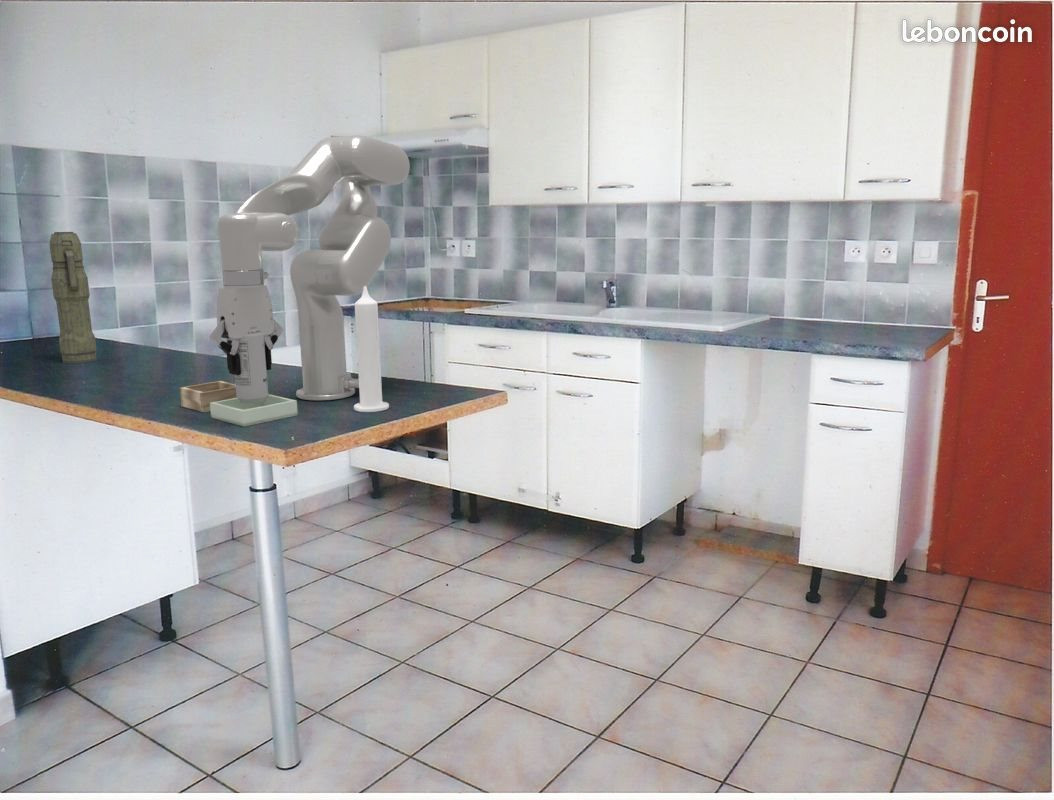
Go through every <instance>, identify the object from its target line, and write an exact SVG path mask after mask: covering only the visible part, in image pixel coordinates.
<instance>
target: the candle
mask: <svg viewBox="0 0 1054 800" xmlns="http://www.w3.org/2000/svg"><path fill="white" fill-rule="evenodd" d="M378 306H379V305H378V302H377V300H375V299H374V298H372V297H371V296H370V294H369V290H368V287H366V286H364V289H363V292H362V295H361V297H360V298H359V299H358V300H357V301H356V302H355V303H354V317H355V320H354V321H355V333H356V334H355V335H356V337H355V339H356V354H357V357H356V358H357V368H358V369H357V372H358V379H359V388H358V389H359V402H358V403H355V404H354V405H353V410H354V411H356V412H359V413H376V412H377V413H378V412H382V411H386V410H388V409H389V408H390V404H389V403H388V402H386V401H383V390H382V387H383V386H382V371H381V370H382V369H381V368H382V367H381V351H380V350H381V348H380V347H381V346H380V329H379V326H380V325H379V308H378Z"/></svg>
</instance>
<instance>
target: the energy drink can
mask: <svg viewBox="0 0 1054 800" xmlns="http://www.w3.org/2000/svg"><path fill="white" fill-rule="evenodd" d="M250 328H251V329H250V330H249V331H248V332H247V333H246V334H245V335H244V336H243V338H242V339H240V340H239V345H238V349H237V352H236V353H237V354H239V356H240V368H241V374H240V375H234V381H235V382H234V384H236V396H237V399H239V400H240V403H243V404H255V403H261V402H265V401H266V398H267V397H268V394H269V387H268V386H269V385H268V374H267V373H268V372H267V371H268V370H266V357H265V343H264V334H263V333H262V332H261V331H260V330H258V329H257V326H256V327H250Z"/></svg>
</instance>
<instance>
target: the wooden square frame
mask: <svg viewBox="0 0 1054 800" xmlns="http://www.w3.org/2000/svg"><path fill="white" fill-rule="evenodd" d="M179 396H180V403H181V404H180V406H181V407H182V408H183V407H184V408H186V409H190V410H194V411H199V412H201V413H209V412H211V411H210V403H211V402H217V401H222V400H227V399H233V398H237V396H236V384H235V383H233V382H232V383H231V382H227V381H223V380H217V381H212V382H210V381H209V382H204V383H199V384H193V385H187V386H181V387H179Z"/></svg>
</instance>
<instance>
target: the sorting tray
mask: <svg viewBox="0 0 1054 800" xmlns="http://www.w3.org/2000/svg"><path fill="white" fill-rule="evenodd" d="M209 412H210V418H212V419H214V420H215V419H216V420H218V421H222V422H226V423H229V424H233V425H235V426H236V425H237V426H240V427H243V428H244V427H249V426H254V425H258V424H263V423H268V422H272V421H273V422H274V421H278V420H282V419H287V418H291V417H296V416H298V415H299V413H298V401H297V400H296V399H291V398H288V397H285V396H284V397H283V396H278V395H275V394H271V393H270V394H269V393H268V397H267V398H266V401H265V402H261V403H255V404H243V403H240V400H239V399H237V398H233V399H227V400H222V401H217V402H211V403H210V411H209Z"/></svg>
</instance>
